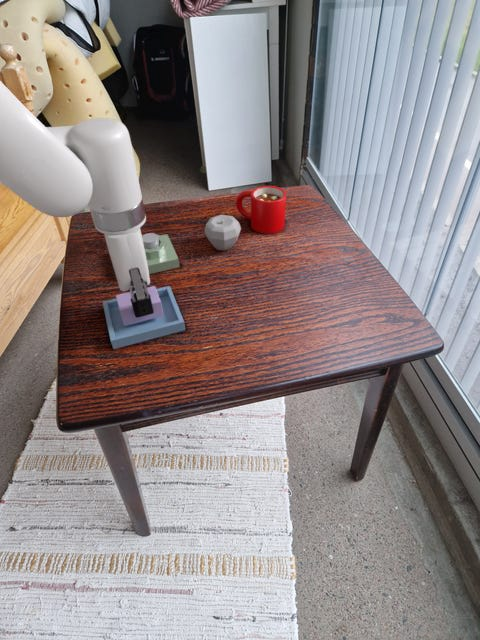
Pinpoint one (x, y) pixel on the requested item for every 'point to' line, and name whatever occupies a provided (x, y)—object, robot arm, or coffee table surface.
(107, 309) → the soap dish
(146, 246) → the grey push button
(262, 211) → the mug
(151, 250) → the green push button box
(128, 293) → the soap bar
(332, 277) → the coffee table surface
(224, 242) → the apple
